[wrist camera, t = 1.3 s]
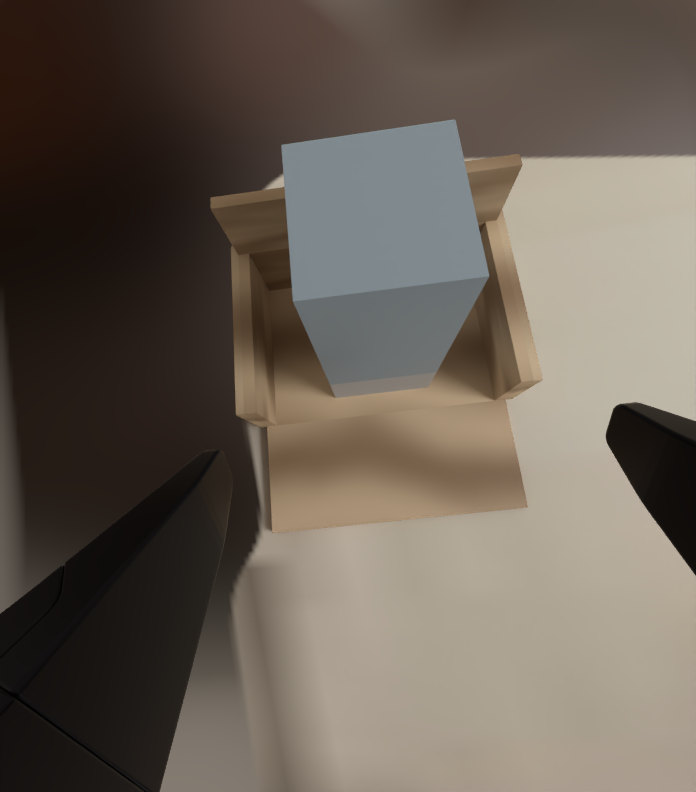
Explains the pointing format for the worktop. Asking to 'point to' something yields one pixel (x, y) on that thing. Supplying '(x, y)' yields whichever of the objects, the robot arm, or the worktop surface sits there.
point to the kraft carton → (381, 412)
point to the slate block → (382, 252)
